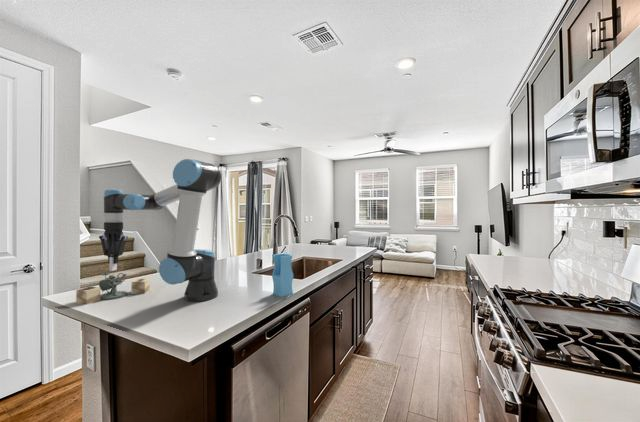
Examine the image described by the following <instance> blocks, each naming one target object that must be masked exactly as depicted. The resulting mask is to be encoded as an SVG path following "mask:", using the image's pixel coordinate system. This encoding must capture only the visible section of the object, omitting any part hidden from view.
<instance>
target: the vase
mask: <svg viewBox="0 0 640 422" xmlns="http://www.w3.org/2000/svg"><path fill="white" fill-rule="evenodd" d="M293 256H294V255H293V254H290V253H283V252H282V253H276V254H275V253H274V254H272V258H273V263H274V268H273V271H272V273H271V276H272V277H271V278H272V282H273V292H272V295H275V296H276V297H279V298H283V297H287V296H292V295H294V291H293V280H294V276H295V275H294V272H293V268H292V261H293V260H292V259H293Z"/></svg>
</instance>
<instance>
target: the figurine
mask: <svg viewBox="0 0 640 422" xmlns="http://www.w3.org/2000/svg"><path fill="white" fill-rule="evenodd" d="M108 275H109V276H108ZM119 275H122V276H121V277H120V276H119ZM101 276H104V277H105V278H104V279H102V280H100V281H99V282H98V287H100V291H102V292H104V293H102V294H100V301H111V300H116V299H120V298H123V297H124V298H125V297H126V296H127V295H128V292H127V291H125V290H118V289H117V286H119V285H122V284H123V282H125V281H126V280H125V279H124V278H125V277H126V276H127V273H123V272H119V273H118V274H117V276H115V275H113V274H111V275H110V272H103V273H101ZM107 276H108V277H107ZM109 290H110V291H109ZM105 291H106V292H105Z"/></svg>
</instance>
